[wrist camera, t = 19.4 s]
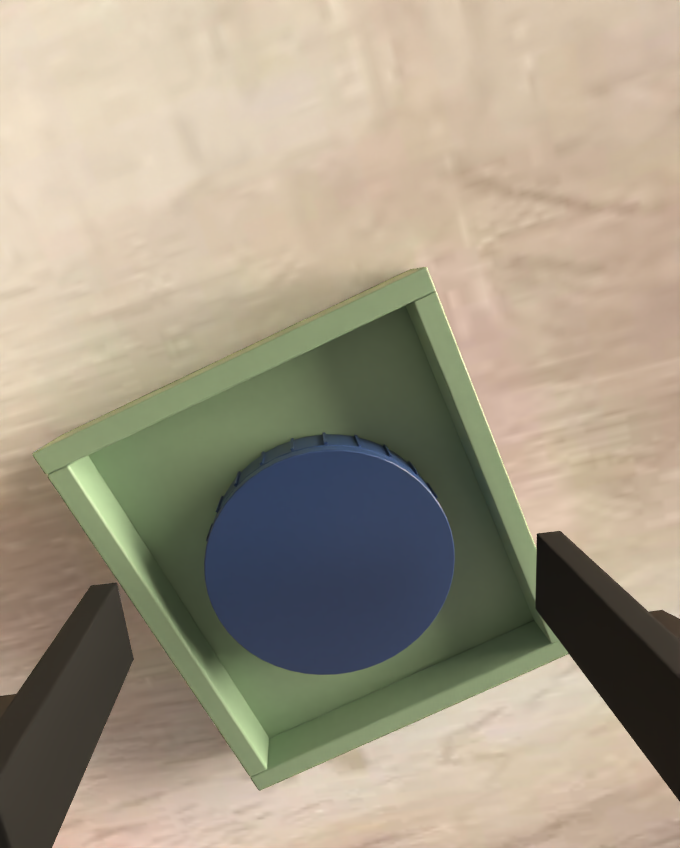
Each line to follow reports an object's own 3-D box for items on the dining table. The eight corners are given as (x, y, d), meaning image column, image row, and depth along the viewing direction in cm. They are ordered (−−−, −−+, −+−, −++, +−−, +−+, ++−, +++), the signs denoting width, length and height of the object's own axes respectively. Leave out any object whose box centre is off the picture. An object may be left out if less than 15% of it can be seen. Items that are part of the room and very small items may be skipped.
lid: (486, 512, 20) (506, 536, 18) (353, 676, 21) (359, 713, 19) (298, 384, 18) (298, 396, 16) (166, 574, 19) (152, 604, 17)
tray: (60, 435, 18) (30, 454, 16) (411, 268, 18) (426, 266, 16) (262, 746, 22) (258, 792, 20) (550, 617, 22) (576, 651, 20)
